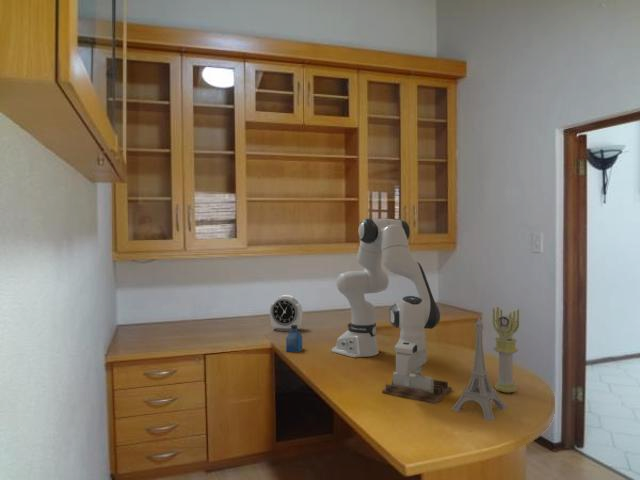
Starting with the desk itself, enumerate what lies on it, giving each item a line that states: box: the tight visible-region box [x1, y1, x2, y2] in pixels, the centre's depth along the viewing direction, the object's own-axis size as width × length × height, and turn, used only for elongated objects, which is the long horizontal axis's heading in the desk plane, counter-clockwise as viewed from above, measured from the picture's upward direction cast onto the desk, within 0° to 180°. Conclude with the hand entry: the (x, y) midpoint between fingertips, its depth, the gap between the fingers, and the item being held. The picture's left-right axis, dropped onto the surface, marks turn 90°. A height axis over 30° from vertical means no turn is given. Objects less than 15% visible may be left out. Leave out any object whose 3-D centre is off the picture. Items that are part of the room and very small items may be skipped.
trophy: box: [492, 306, 520, 394], centre depth 165 cm, size 8×8×30 cm
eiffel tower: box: [450, 317, 508, 422], centre depth 150 cm, size 13×13×30 cm
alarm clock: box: [269, 294, 303, 332], centre depth 265 cm, size 18×8×20 cm, turn 76°
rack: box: [381, 378, 452, 405], centre depth 166 cm, size 20×16×3 cm
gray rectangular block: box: [392, 370, 434, 393], centre depth 163 cm, size 14×3×6 cm, turn 57°
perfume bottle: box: [285, 325, 303, 353], centre depth 223 cm, size 6×6×12 cm
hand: (412, 381), depth 163 cm, fingers open, 8 cm apart
